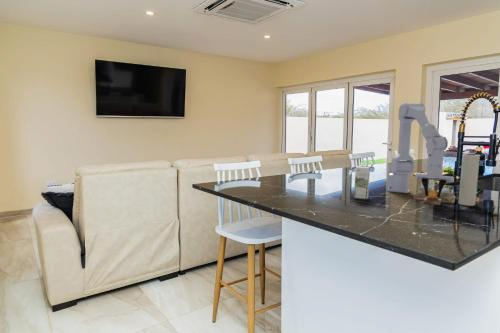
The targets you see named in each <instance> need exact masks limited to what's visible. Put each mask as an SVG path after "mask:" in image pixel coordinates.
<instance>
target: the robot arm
mask: <svg viewBox="0 0 500 333" xmlns="http://www.w3.org/2000/svg"><path fill="white" fill-rule="evenodd" d="M398 120H399V130H398V131H399V132H398V145H397V146H398V148H397V154H396V155H395V156H393V157H392V158H391V163H390V166H389V169H390V171H391V173H388V174H389V175H388V182H387V184H388V185H387V192H392V193H393V192H394V193H402V194H403V193H405V194H408V193H410V192H411V189H409V186H410V175H411V174H412V173H413V172H414V170H415V164H414V157H412V156H411V155H410V146H411V134H412V133H411V132H412V123H413V122H414V121H416V122H417V123H418V125H419V126H420V127H421V130H420V133H421V135H422V137H423V138H424V140H425V141H426V142H425V148H426V153H427V166H426V173H425V174H424V173H415V174H414V179H416V180H418V179H419V180H421V184H422V187H424V190H425V196H428V187H429V181H431V180H432V181H438V189H439V191H438V198H440V194H441V191H442V189H443V188H445V185H446V184H447V182H450V183H451V182H453V183H454V182H455V181H454V180H455V177H454V176H449V175H443V165H444V152H445V151H446V149H447V148H448V143H449V142H448V139H447V137H445V136H443V135H441V134H440V133H439V131H438V130H437V128H436V125H435V124H433V123H430V121H429V119H428V117H427V115H426V107H425V105H424V103H422V102H419V103H415V102H414V103H413V102H412V103H411V102H402V103H401V104H400V106H399V107H398Z"/></svg>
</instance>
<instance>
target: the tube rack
mask: <svg viewBox="0 0 500 333" xmlns="http://www.w3.org/2000/svg"><path fill="white" fill-rule="evenodd" d="M422 187H423V186H419V187H418V188H417V189H416V193H415V194H414V195H413V197H412V199H414V200H419V201H423V199H424V198H425V197H428V196H425V190H421V189H422ZM430 189H431V190H435V188H434V187H430ZM448 189H449V190H450V192H451V193H445V192H441V194H440V198H438V196H437V198H438V199H441V203H445V204H446V203H447V204H455V201H456V198H457V197H456V196H455V195H454V189H450V188H448ZM436 191H437V192H438V191H439V188H438V189H437V190H436Z"/></svg>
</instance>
